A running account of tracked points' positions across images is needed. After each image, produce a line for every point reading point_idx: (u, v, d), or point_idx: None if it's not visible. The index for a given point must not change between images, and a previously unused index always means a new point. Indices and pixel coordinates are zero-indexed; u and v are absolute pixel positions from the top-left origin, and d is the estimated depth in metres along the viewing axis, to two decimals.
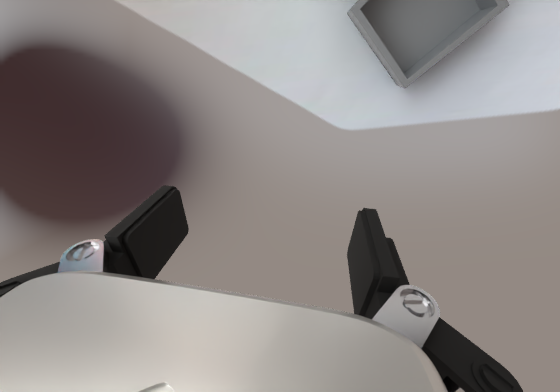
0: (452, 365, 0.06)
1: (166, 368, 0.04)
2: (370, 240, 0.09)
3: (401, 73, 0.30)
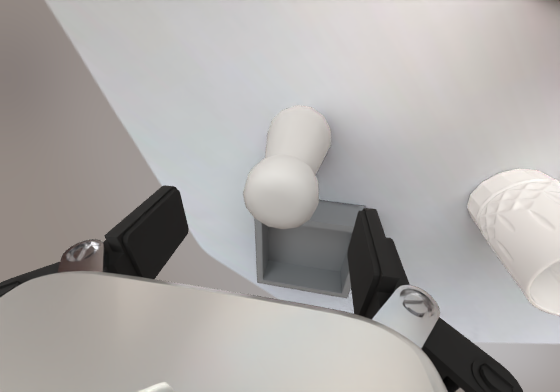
0: (452, 365, 0.06)
1: (166, 368, 0.04)
2: (370, 240, 0.09)
3: (261, 274, 0.30)
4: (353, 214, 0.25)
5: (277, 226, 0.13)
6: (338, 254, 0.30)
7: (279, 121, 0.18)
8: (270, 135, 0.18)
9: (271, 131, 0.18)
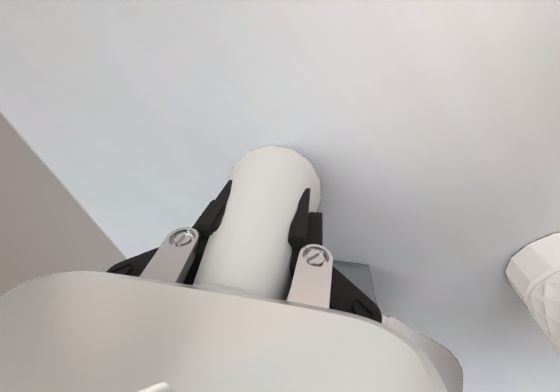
0: (333, 301, 0.07)
1: (166, 368, 0.04)
2: None
3: None
4: (353, 281, 0.18)
5: None
6: None
7: (239, 175, 0.12)
8: None
9: None
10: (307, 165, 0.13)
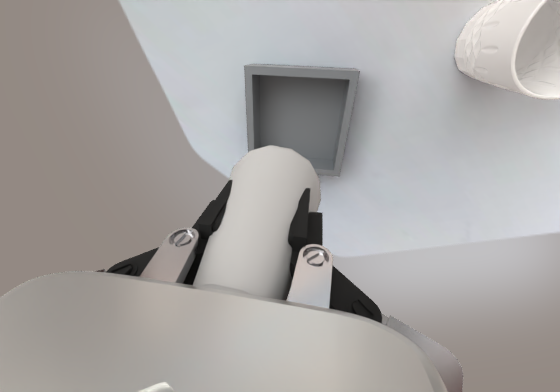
0: (333, 301, 0.07)
1: (166, 368, 0.04)
2: None
3: None
4: None
5: None
6: (330, 135, 0.30)
7: (239, 175, 0.12)
8: None
9: None
10: (307, 165, 0.13)
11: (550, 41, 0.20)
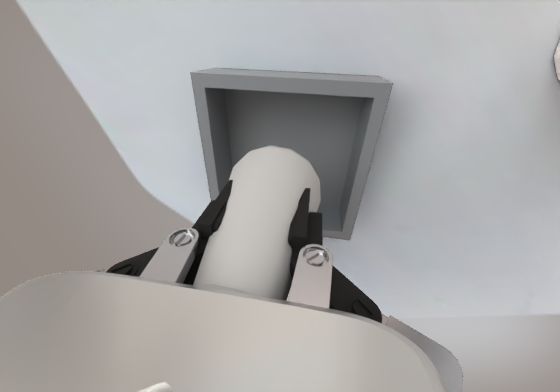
0: (333, 301, 0.07)
1: (166, 368, 0.04)
2: None
3: None
4: (360, 78, 0.15)
5: None
6: (335, 175, 0.20)
7: (239, 175, 0.12)
8: None
9: None
10: (307, 166, 0.13)
11: None
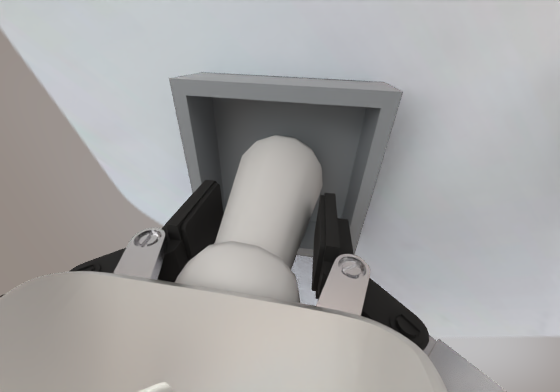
0: (374, 316, 0.07)
1: (166, 368, 0.04)
2: (323, 218, 0.10)
3: None
4: (364, 84, 0.13)
5: None
6: (336, 190, 0.18)
7: (248, 161, 0.13)
8: (235, 183, 0.12)
9: (237, 175, 0.13)
10: (309, 152, 0.14)
11: None
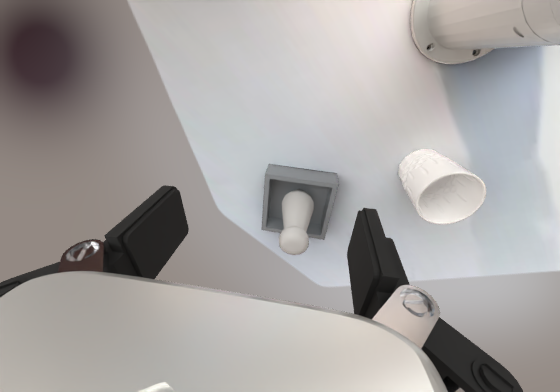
0: (452, 365, 0.06)
1: (166, 368, 0.04)
2: (370, 240, 0.09)
3: (265, 222, 0.43)
4: (328, 177, 0.39)
5: (292, 254, 0.33)
6: (318, 209, 0.44)
7: (289, 201, 0.38)
8: (285, 208, 0.38)
9: (285, 206, 0.38)
10: (309, 198, 0.39)
11: (447, 179, 0.35)
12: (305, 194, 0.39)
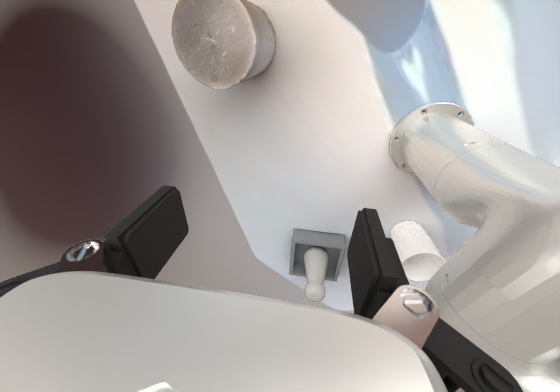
0: (452, 365, 0.06)
1: (166, 368, 0.04)
2: (370, 240, 0.09)
3: (292, 269, 0.57)
4: (338, 239, 0.53)
5: None
6: (331, 258, 0.58)
7: (310, 258, 0.53)
8: (307, 264, 0.52)
9: (307, 261, 0.53)
10: (324, 254, 0.54)
11: None
12: (321, 251, 0.54)
